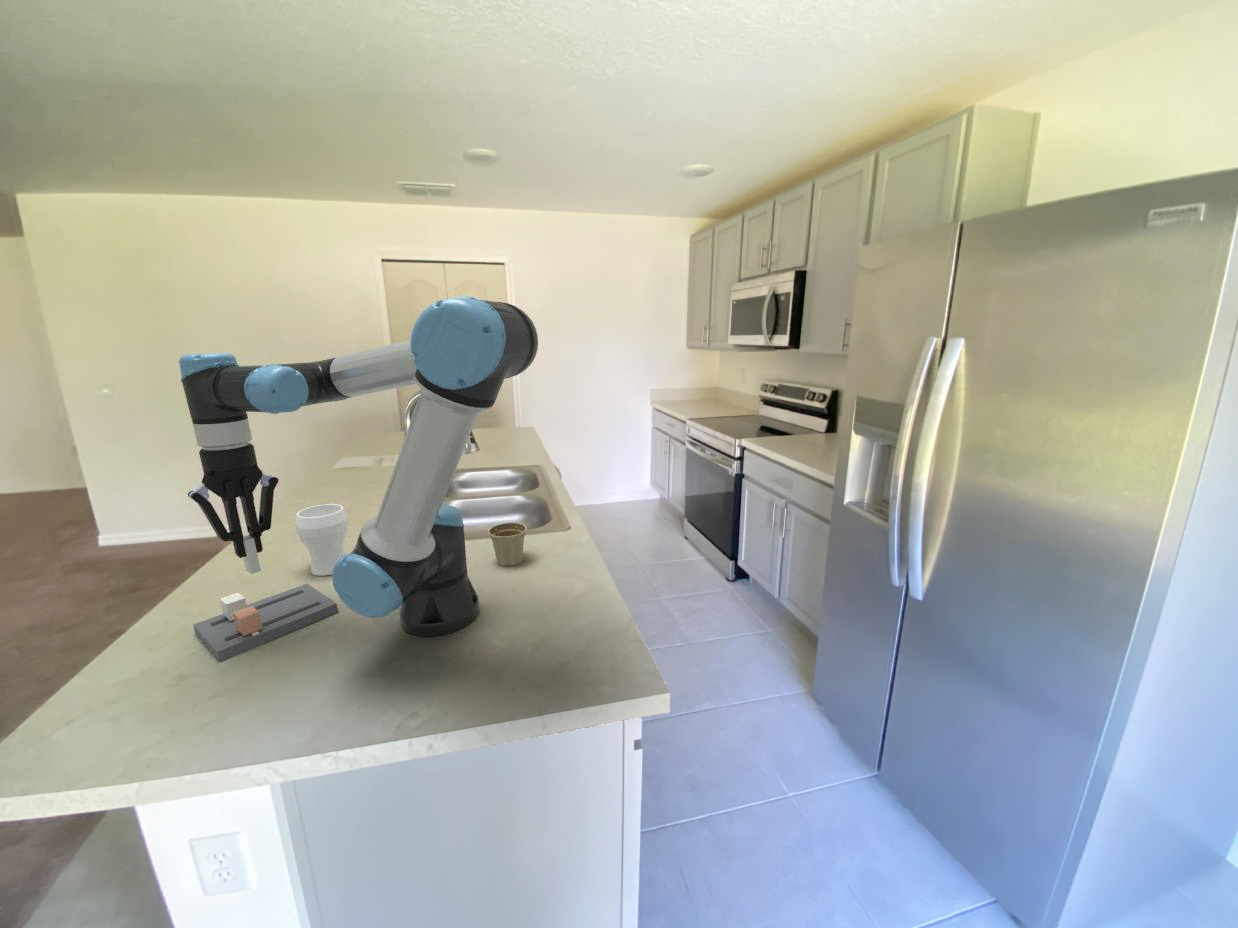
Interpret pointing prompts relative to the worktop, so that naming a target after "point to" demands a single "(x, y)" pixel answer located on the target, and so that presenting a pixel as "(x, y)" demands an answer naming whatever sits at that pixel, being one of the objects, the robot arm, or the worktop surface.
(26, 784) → the worktop surface
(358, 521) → the worktop surface
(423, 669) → the worktop surface
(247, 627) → the fader front
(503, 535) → the flower pot
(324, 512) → the cup
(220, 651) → the console
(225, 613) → the block
